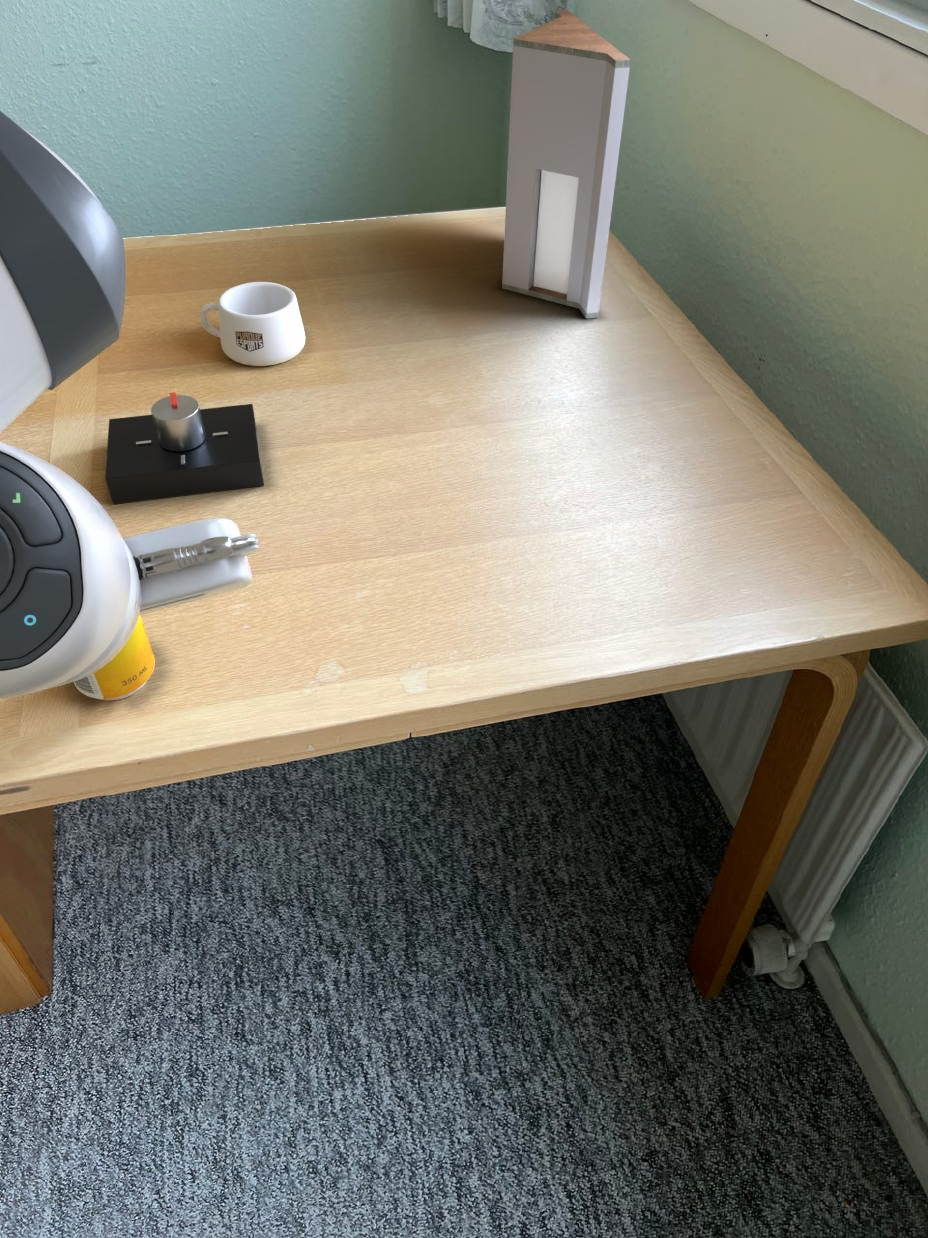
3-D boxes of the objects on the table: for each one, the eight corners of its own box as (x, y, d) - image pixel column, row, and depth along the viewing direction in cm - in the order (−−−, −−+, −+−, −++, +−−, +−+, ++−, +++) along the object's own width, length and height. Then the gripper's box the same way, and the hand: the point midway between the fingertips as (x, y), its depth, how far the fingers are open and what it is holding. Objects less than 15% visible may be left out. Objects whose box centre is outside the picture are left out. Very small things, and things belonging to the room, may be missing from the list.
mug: (315, 330, 110) (310, 282, 106) (294, 372, 103) (288, 322, 99) (217, 322, 111) (208, 274, 107) (191, 363, 104) (180, 313, 100)
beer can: (172, 658, 73) (126, 508, 62) (128, 715, 69) (71, 565, 58) (106, 639, 74) (50, 489, 63) (59, 693, 70) (-9, 543, 59)
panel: (113, 504, 86) (104, 477, 84) (116, 444, 93) (108, 417, 91) (264, 485, 89) (259, 458, 86) (256, 428, 96) (252, 401, 93)
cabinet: (598, 317, 114) (630, 59, 94) (523, 324, 112) (540, 64, 92) (548, 246, 128) (567, 10, 108) (481, 252, 126) (488, 13, 106)
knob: (208, 447, 88) (200, 413, 85) (160, 455, 87) (151, 420, 84) (203, 422, 91) (195, 388, 88) (157, 429, 90) (148, 395, 87)
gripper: (244, 473, 45) (231, 513, 58) (-234, 581, 39) (-127, 598, 52) (280, 598, 45) (259, 610, 58) (-190, 723, 39) (-94, 705, 52)
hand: (74, 605), depth 55 cm, fingers open, 8 cm apart
